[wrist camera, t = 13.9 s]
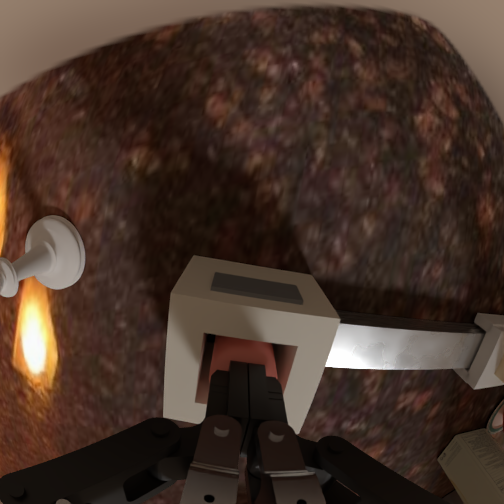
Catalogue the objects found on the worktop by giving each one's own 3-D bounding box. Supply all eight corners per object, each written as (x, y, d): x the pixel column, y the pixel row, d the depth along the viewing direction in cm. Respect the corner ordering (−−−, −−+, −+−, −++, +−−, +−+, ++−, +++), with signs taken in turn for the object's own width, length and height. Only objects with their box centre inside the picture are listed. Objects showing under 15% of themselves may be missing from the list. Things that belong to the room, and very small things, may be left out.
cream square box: (312, 271, 18) (341, 314, 12) (285, 371, 20) (298, 434, 14) (194, 251, 18) (171, 288, 12) (182, 356, 19) (163, 417, 13)
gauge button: (273, 308, 17) (284, 356, 13) (263, 352, 18) (269, 407, 13) (221, 300, 17) (213, 346, 12) (214, 345, 18) (205, 399, 13)
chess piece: (94, 281, 18) (-1, 361, 8) (42, 291, 18) (-50, 358, 8) (74, 206, 17) (-44, 240, 7) (23, 224, 17) (-85, 262, 7)
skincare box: (435, 459, 24) (475, 532, 12) (455, 433, 23) (505, 507, 11) (468, 451, 25) (509, 513, 13) (487, 426, 24) (534, 488, 12)
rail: (518, 316, 20) (530, 324, 18) (497, 363, 21) (508, 373, 19) (315, 291, 18) (323, 304, 16) (296, 360, 20) (301, 377, 18)
